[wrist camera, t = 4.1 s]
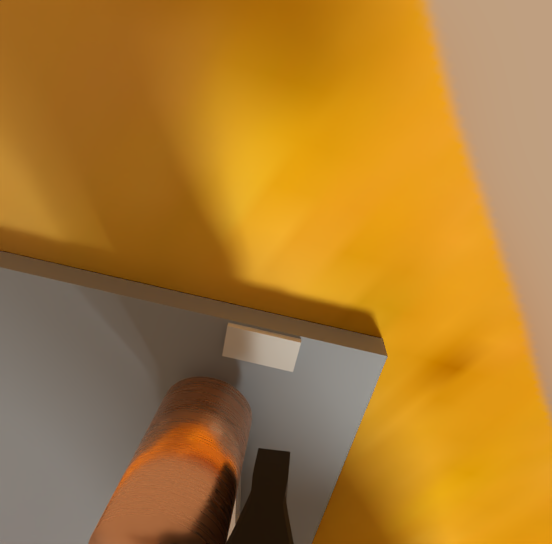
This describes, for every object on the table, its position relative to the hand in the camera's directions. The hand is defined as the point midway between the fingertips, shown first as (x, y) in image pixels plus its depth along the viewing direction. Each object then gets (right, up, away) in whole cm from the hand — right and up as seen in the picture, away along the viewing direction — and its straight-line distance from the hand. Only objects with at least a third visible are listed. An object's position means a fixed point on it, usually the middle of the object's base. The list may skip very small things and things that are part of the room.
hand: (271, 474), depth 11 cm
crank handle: (-2, -4, +4) cm, 6 cm away
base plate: (-6, -2, +6) cm, 8 cm away
